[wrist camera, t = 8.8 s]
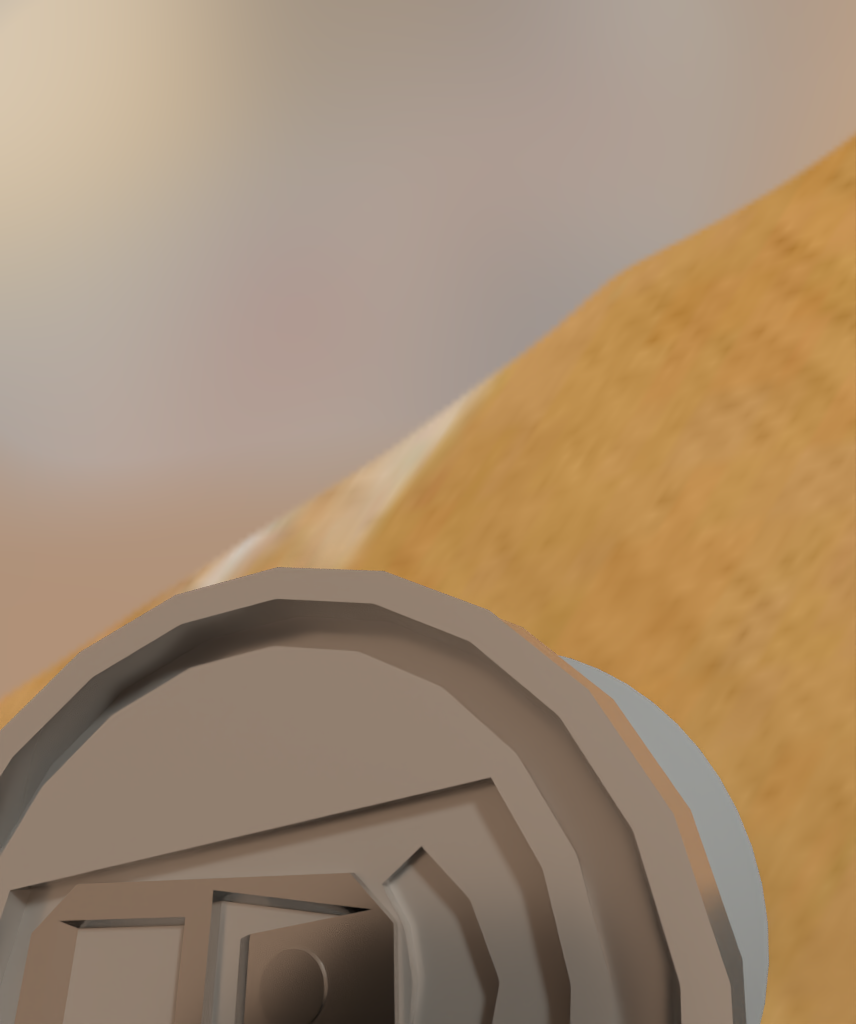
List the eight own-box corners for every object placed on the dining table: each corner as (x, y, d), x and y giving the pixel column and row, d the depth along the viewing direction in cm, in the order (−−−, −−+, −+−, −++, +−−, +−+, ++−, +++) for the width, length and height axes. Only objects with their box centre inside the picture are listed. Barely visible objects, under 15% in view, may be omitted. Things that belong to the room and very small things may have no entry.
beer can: (374, 1063, 13) (-391, 1756, 3) (374, 767, 16) (-49, 579, 5) (664, 1065, 13) (1018, 2055, 2) (617, 751, 15) (670, 487, 5)
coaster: (871, 1112, 12) (883, 1123, 12) (333, 1275, 13) (322, 1292, 12) (633, 598, 17) (634, 590, 17) (251, 731, 18) (240, 727, 17)
